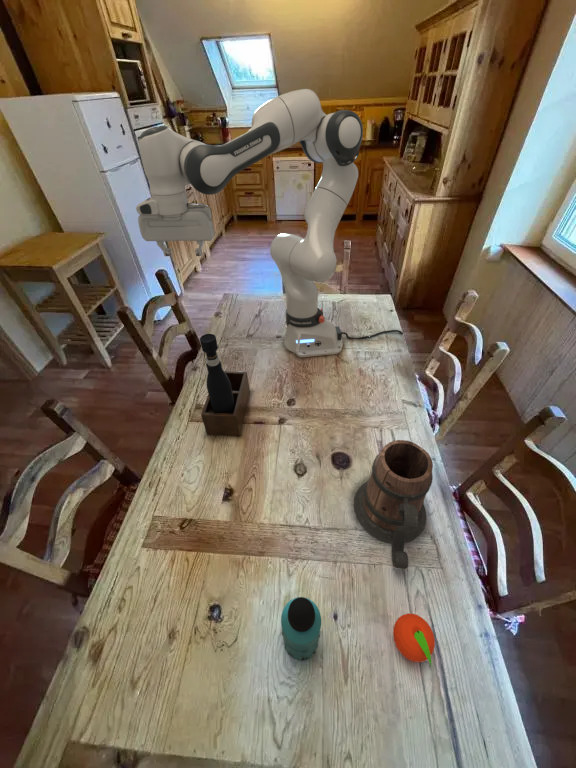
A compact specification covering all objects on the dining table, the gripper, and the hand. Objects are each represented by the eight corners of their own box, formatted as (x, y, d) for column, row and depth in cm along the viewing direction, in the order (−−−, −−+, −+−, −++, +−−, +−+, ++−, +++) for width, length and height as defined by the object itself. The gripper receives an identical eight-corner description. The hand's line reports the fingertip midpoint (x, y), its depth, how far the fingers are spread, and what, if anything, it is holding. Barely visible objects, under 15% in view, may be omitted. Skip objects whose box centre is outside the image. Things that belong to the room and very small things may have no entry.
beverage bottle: (282, 622, 65) (276, 588, 52) (316, 619, 65) (319, 584, 52) (284, 666, 60) (279, 641, 47) (321, 662, 61) (327, 636, 47)
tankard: (352, 474, 88) (361, 424, 75) (419, 480, 87) (441, 429, 73) (355, 572, 71) (367, 529, 58) (439, 581, 70) (471, 539, 56)
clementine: (441, 662, 60) (453, 654, 55) (407, 680, 59) (416, 673, 54) (414, 612, 66) (423, 601, 61) (382, 627, 64) (389, 617, 59)
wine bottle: (239, 413, 104) (223, 330, 84) (235, 429, 100) (217, 346, 79) (219, 412, 105) (198, 330, 85) (213, 428, 100) (190, 345, 80)
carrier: (250, 391, 113) (247, 371, 107) (239, 436, 99) (235, 416, 93) (221, 390, 113) (216, 370, 108) (207, 435, 100) (200, 414, 94)
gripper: (212, 199, 92) (221, 251, 101) (139, 200, 93) (154, 251, 103) (206, 206, 87) (216, 259, 96) (129, 207, 89) (146, 259, 98)
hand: (183, 255), depth 99 cm, fingers open, 8 cm apart
